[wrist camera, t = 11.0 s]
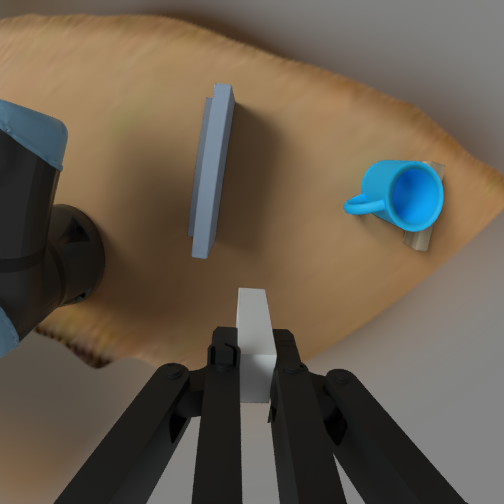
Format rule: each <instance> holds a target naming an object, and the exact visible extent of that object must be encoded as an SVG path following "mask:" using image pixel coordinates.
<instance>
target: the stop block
mask: <svg viewBox="0 0 504 504" xmlns="http://www.w3.org/2000/svg"><path fill="white" fill-rule="evenodd" d="M419 162H422V163H425V164H427V165H428V166H430V167H431V168H432V169H434V170H435V172H436V173H437V175H438V176H439V178H440V180H441V183H442V179H443V172H444V166H445V165H442V164H439V163H436V162H432V161H419ZM433 224H434V222H433V223H432V224H431V226H429V227H427V228H426V229H424V230H421V231H415V232H412V231H407V230H405V234H404V238H403V243H405V244H407V245H408V246H410V247H412V248H413V249H415V250H420V251H425V252H427V249H428V245H429V241H430V237H431V233H432V229H433Z"/></svg>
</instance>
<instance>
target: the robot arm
mask: <svg viewBox="0 0 504 504" xmlns="http://www.w3.org/2000/svg"><path fill="white" fill-rule="evenodd" d="M67 140H68V131H67V128H66V126H65V125H64V123H63V122H62V121H60V120H58V119H56V118H53V117H51V116H48V115H45V114H43V113H40V112H37V111H34V110H31V109H29V108H26V107H23V106H20V105H17V104H14V103H11V102H8V101H4V100H1V99H0V358H1V357H3V356H4V355H5V354H7V353H8V352H9V351H11V350H12V349H15V348H16V347H17V346H18V344H19V343H20V342H21V341H22V339H24V337H26V336H27V335H28V334H29V333H30V332H31V331H32V330H33V329H34V328H35V327H36V326H37V325H38V324H39V323H41V322H42V321H43V320H44V319H45V318H46V317H47V316H48V315H49V314H50V313H52V312H53V311H54V310H55V309H56V308H58V307H62V306H66V305H71V304H75V303H78V302H80V301H82V300H84V299H85V298H87V297H88V296H89V295H90V294H91V293H92V292H93V291H94V290H95V289H96V288H97V287H98V285H99V283H100V281H101V279H102V276H103V273H104V267H105V255H104V248H103V244H102V241H101V238H100V236H99V234H98V231H97V230H96V228H95V226H94V225H93V223H92V222H91V221H90V220H89V218H88V217H87V216H86V215H85V214H83V213H82V212H81V211H79V210H78V209H76V208H74V207H72V206H69V205H64V204H56V205H53V203H54V198H55V194H56V189H57V185H58V180H59V176H60V172H61V171H62V170H63V166H62V161H63V157H64V152H65V148H66V144H67ZM269 399H271V406H270V411H269V417H268V423H269V422H270V420H271V428H272V438H273V446H274V456H275V465H276V473H277V482H278V491H279V500H280V504H347V502H346V499H345V495H344V491H343V488H342V484H341V481H340V477H339V473H338V470H337V466H336V463H335V459H334V456H333V454H334V455H335V457H336V458H337V460H338V462H339V463H340V465H341V466H342V468H343V469H344V471H345V473H346V474H347V476H348V477H349V479H350V481H351V482H352V484H353V485H354V487H355V488H356V490H357V491H358V493H359V494H360V496H361V497H362V499H363V500H364V502H365V504H468V503H466V502H465V501H464V500H463V499H462V498H461V496H460V495H459V494H458V493H457V492H456V491H455V490H454V488H453V487H452V486H451V485H450V484H449V483H448V482H447V480H446V479H445V478H444V477H443V476H442V475H441V474H440V472H439V471H438V470H437V469H436V468H435V467H434V466H433V465H432V463H431V462H430V461H429V460H428V459H427V458H426V457H425V455H424V454H423V453H422V452H421V451H420V450H419V449H418V448H417V446H416V445H415V444H414V443H413V442H412V441H411V440H410V438H409V437H408V436H407V435H406V434H405V432H404V431H403V430H402V429H401V428H400V427H399V426H398V425H397V423H396V422H395V421H394V420H393V419H392V418H391V416H390V415H389V414H388V413H387V412H386V411H385V410H384V409H383V407H382V406H381V405H380V404H379V403H378V402H377V401H376V399H375V398H374V397H373V396H372V395H371V393H370V392H369V391H368V390H367V389H366V388H365V387H364V386H363V384H362V383H361V382H360V381H359V380H358V379H357V377H356V376H355V375H354V374H352V373H351V372H349V371H347V370H344V369H333V370H331V371H329V372H328V373H327V375H326V376H322V375H317V374H314V373H311V372H309V371H308V368H307V366H306V365H305V364H303V363H302V362H301V360H300V356H299V353H298V349H297V347H296V342H295V339H294V335H293V334H292V333H291V332H290V331H289V330H287V329H272V326H271V321H270V315H269V310H268V304H267V299H266V294H265V289H251V288H239V293H238V306H237V319H236V328H233V327H219V326H218V327H217V328H216V329H215V330H214V331H213V336H212V343H211V345H209V347H208V359H207V365H206V366H205V367H204V368H202V369H199V370H194V371H189V370H188V369H187V368H186V367H185V366H184V365H181V364H178V363H167V364H164V365H162V366H161V367H159V368H158V369H157V371H156V372H155V373H154V374H153V376H152V377H151V378H150V380H149V381H148V382H147V383H146V385H145V386H144V387H143V389H142V390H141V391H140V392H139V394H138V395H137V396H136V398H135V399H134V400H133V401H132V403H131V404H130V405H129V407H128V408H127V409H126V411H125V412H124V413H123V414H122V416H121V417H120V418H119V420H118V421H117V422H116V423H115V425H114V426H113V427H112V428H111V430H110V431H109V432H108V434H107V435H106V436H105V438H104V439H103V440H102V441H101V443H100V444H99V446H98V447H97V448H96V449H95V450H94V452H93V453H92V454H91V456H90V457H89V458H88V459H87V461H86V462H85V463H84V465H83V466H82V467H81V469H80V470H79V471H78V473H77V474H76V475H75V476H74V478H73V479H72V480H71V482H70V483H69V484H68V486H67V487H66V488H65V489H64V491H63V492H62V493H61V494H60V496H59V497H58V499H57V500H56V501H55V502H54V504H146V503H147V501H148V499H149V497H150V495H151V494H152V492H153V490H154V488H155V486H156V484H157V483H158V481H159V479H160V477H161V475H162V473H163V472H164V470H165V468H166V466H167V464H168V462H169V460H170V458H171V457H172V455H173V453H174V451H175V449H176V447H177V445H178V443H179V441H180V440H181V438H182V436H183V434H184V432H185V430H186V428H187V426H188V424H189V423H190V420H191V417H197V416H201V420H200V428H199V438H198V446H197V455H196V465H195V474H194V484H193V494H192V504H242V470H241V468H242V467H241V421H240V420H241V419H240V402H242V403H269Z"/></svg>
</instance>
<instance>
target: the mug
mask: <svg viewBox="0 0 504 504" xmlns="http://www.w3.org/2000/svg"><path fill="white" fill-rule="evenodd" d="M361 192H362V194H360V195H358V196H355V197H353V198H351V199H349V200H347V201H346V202H345V203H344V210H345V212H346V213H348V214H352V215H361V214H369V213H373V214H374V215H376V216H377V217H379V218H381V219H383V220H385V221H388V222H390V223H392V224H394V225H396V226H398V227H400V228H402V229H404V230H407V231H412V232H415V231H421V230H424V229H426V228H427V227H429V226H431V224H432V223H433V222H434V221H435V220H436V219H437V217H438V215H439V213H440V211H441V209H442V205H443V200H444V197H443V187H442V183H441V180H440V178H439V176H438V175H437V173H436V172H435V170H434V169H432V168H431V167H430V166H428V165H427V164H425V163H422V162H419V161H402V160H383V161H379V162H377V163H375V164H373V165H372V166H371V167H370V168H369V169H368V170H367V171H366V173H365V175H364V177H363V180H362V186H361ZM362 203H364V204H362Z"/></svg>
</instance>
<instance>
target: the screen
mask: <svg viewBox="0 0 504 504" xmlns="http://www.w3.org/2000/svg"><path fill="white" fill-rule="evenodd" d="M234 106H235V99H234V94H233V90H232V86H231V85H227V84H217V83H215V87H214V93H213V98H208V97H206V102H205V108H204V114H203V120H202V127H201V133H200V140H199V147H198V154H197V161H196V168H195V176H194V183H193V191H192V200H191V208H190V217H189V227H188V236H191V237H194V238H193V247H192V257H196V258H203V259H207V257H208V255H209V252H210V250H211V248H212V245H213V243H214V241H215V238H216V230H217V222H218V215H219V207H220V200H221V192H222V185H223V178H224V171H225V164H226V157H227V151H228V144H229V137H230V131H231V125H232V118H233V112H234Z"/></svg>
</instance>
